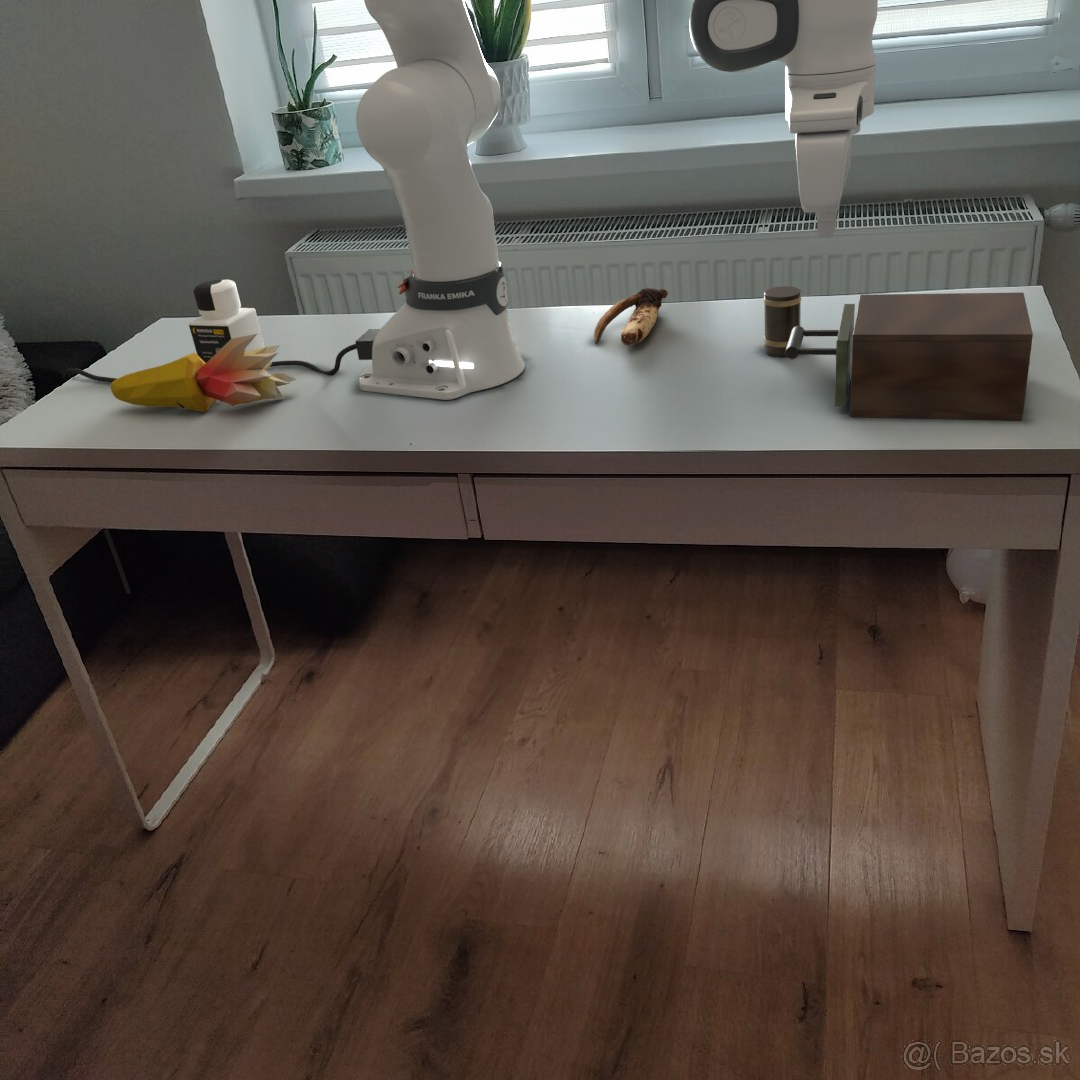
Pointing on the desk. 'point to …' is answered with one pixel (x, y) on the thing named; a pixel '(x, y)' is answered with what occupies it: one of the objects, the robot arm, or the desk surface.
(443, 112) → the robot arm
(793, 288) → the banded brown cylinder
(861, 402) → the cabinet
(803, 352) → the drawer
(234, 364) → the torch
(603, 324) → the bone fish hook
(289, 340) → the desk surface
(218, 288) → the medicine bottle
